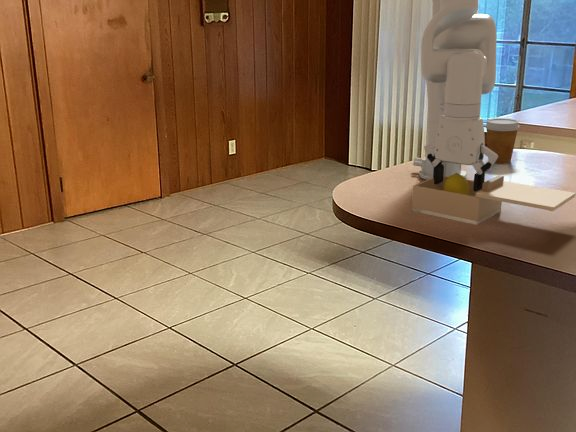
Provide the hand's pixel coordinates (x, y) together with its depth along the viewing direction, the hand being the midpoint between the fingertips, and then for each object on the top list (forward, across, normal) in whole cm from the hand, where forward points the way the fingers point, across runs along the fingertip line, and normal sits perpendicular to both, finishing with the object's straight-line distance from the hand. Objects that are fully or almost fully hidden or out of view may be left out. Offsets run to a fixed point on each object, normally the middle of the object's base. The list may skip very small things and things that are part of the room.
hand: (457, 186), depth 148 cm
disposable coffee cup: (+6, -12, +50) cm, 52 cm away
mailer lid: (0, +15, 0) cm, 15 cm away
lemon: (+5, 0, 0) cm, 5 cm away
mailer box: (+6, 0, 0) cm, 6 cm away
